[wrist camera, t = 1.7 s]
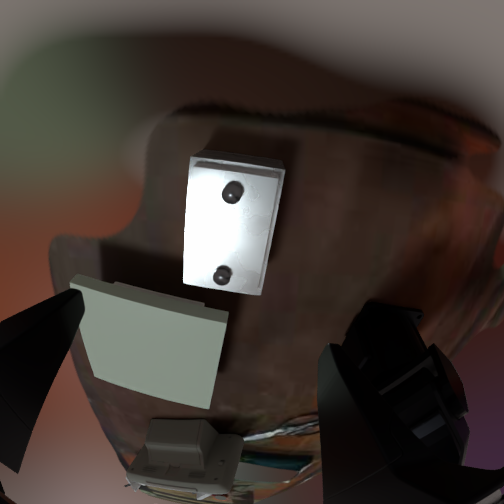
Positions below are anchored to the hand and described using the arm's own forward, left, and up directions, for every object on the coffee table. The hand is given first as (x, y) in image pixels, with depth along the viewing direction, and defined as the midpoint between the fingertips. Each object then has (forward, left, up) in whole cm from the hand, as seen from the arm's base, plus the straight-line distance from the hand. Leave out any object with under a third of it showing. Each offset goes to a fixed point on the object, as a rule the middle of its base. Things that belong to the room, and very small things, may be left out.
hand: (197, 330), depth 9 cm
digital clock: (+1, +34, -11) cm, 36 cm away
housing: (0, 0, -11) cm, 11 cm away
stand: (+5, +12, -11) cm, 17 cm away
